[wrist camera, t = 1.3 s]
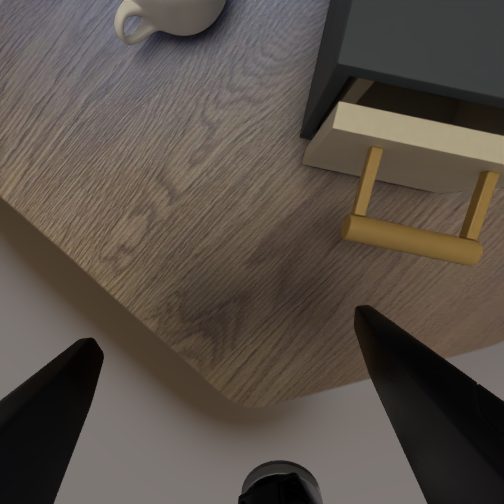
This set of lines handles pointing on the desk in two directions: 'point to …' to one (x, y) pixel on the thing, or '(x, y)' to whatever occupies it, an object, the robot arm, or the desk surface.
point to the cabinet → (410, 50)
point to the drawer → (412, 160)
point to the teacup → (167, 17)
